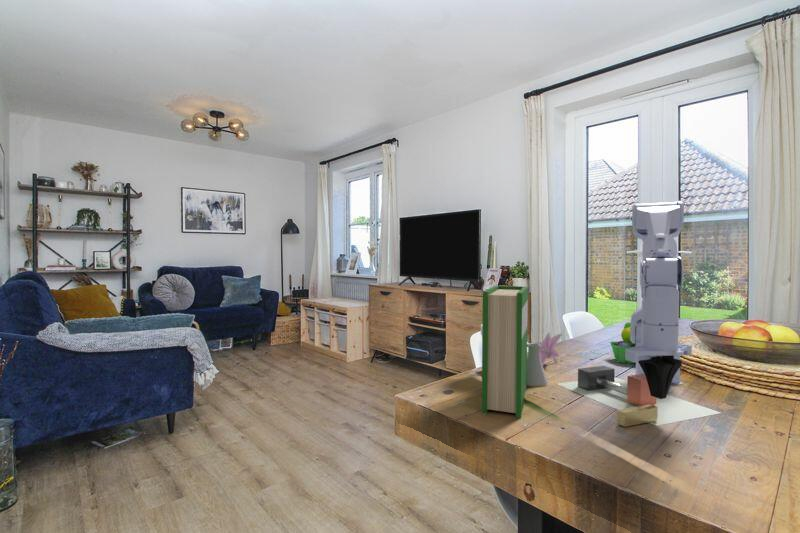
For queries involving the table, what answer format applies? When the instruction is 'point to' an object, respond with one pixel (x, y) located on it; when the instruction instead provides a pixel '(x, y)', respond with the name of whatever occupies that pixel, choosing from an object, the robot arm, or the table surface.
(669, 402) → the board
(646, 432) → the table surface
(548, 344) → the lily
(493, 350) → the hardback book
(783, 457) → the table surface
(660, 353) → the robot arm
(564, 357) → the table surface
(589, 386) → the eye bracket
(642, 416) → the keeper bar
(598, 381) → the mallet
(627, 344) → the fruit basket
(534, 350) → the flask
